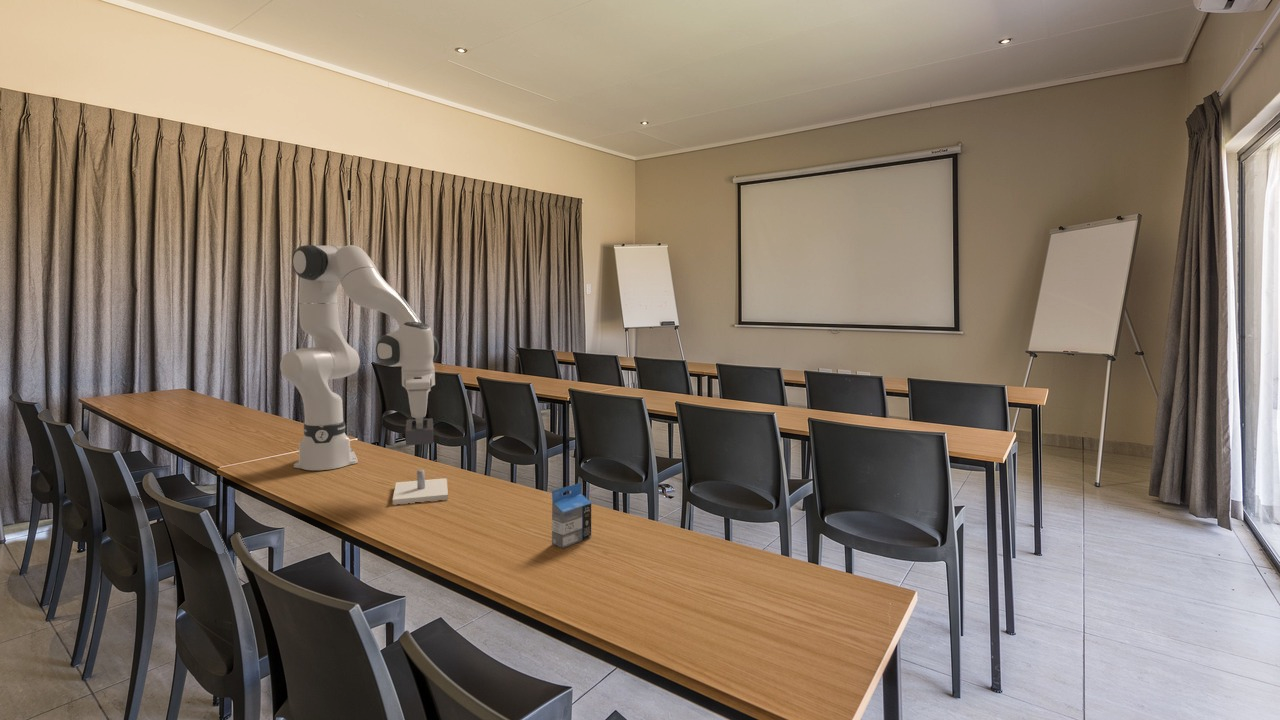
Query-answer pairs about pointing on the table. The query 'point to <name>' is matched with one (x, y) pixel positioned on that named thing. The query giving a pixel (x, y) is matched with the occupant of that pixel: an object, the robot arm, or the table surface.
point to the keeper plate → (420, 490)
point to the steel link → (419, 432)
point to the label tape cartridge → (570, 516)
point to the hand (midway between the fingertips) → (419, 427)
